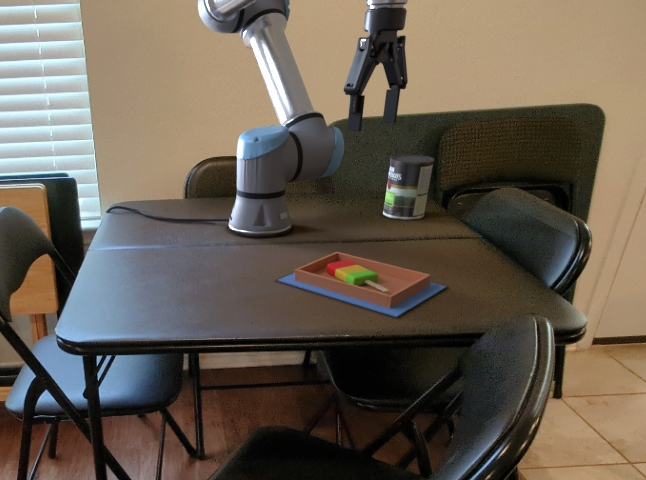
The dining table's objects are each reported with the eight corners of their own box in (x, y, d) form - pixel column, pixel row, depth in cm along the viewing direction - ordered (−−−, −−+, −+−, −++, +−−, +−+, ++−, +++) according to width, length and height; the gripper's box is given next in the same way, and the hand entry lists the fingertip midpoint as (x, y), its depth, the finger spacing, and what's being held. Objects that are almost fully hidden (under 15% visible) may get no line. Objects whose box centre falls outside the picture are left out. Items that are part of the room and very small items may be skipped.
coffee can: (392, 221, 147) (401, 163, 141) (376, 210, 156) (383, 155, 150) (432, 218, 148) (442, 160, 141) (413, 208, 157) (422, 153, 150)
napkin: (277, 281, 114) (278, 279, 114) (331, 258, 125) (331, 256, 125) (396, 317, 98) (397, 316, 98) (446, 287, 108) (446, 286, 108)
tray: (293, 281, 114) (294, 269, 112) (335, 263, 122) (336, 251, 121) (389, 310, 101) (391, 296, 99) (428, 287, 109) (431, 274, 108)
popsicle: (346, 267, 118) (347, 258, 117) (398, 293, 106) (400, 283, 105) (323, 272, 116) (324, 263, 115) (373, 299, 104) (375, 288, 103)
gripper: (368, 5, 101) (354, 135, 112) (436, 6, 116) (418, 121, 126) (331, 8, 106) (321, 132, 117) (401, 8, 121) (386, 119, 131)
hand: (372, 127), depth 121 cm, fingers open, 13 cm apart
